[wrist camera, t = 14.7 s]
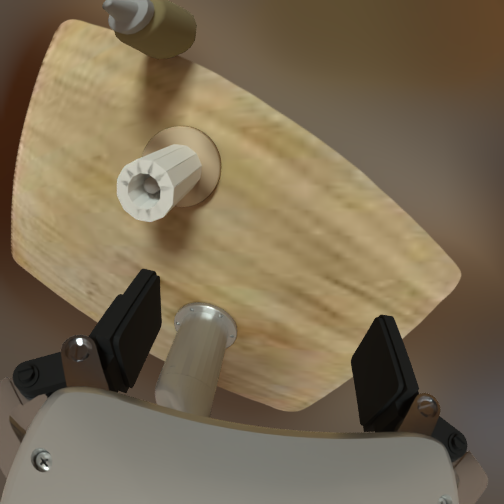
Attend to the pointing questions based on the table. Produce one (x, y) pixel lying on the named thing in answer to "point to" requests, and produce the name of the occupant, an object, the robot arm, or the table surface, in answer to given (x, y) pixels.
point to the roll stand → (205, 153)
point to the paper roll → (158, 181)
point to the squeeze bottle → (152, 26)
